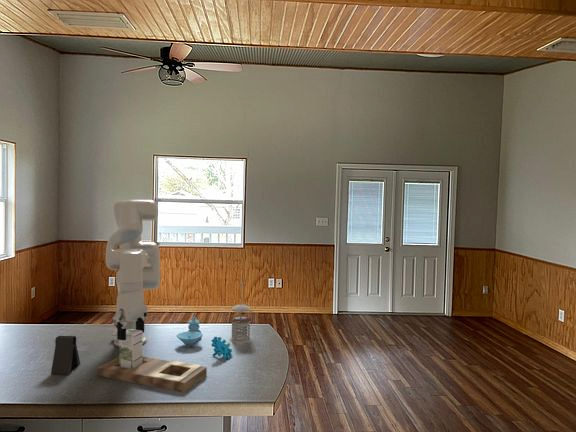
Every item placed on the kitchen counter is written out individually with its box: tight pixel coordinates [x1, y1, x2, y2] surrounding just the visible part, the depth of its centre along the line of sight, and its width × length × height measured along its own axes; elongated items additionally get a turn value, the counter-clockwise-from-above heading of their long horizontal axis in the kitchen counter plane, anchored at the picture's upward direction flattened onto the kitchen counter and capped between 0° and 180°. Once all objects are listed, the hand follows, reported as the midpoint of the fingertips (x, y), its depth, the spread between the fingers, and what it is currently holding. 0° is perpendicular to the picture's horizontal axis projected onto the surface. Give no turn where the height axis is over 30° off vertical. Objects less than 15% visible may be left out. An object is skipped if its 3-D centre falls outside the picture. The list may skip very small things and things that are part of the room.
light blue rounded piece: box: [176, 316, 204, 348], centre depth 190 cm, size 18×10×9 cm, turn 1°
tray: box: [97, 356, 208, 393], centre depth 155 cm, size 34×14×3 cm, turn 71°
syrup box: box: [118, 329, 143, 369], centre depth 158 cm, size 6×6×14 cm
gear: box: [211, 336, 233, 360], centre depth 174 cm, size 11×6×10 cm
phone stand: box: [50, 335, 81, 376], centre depth 158 cm, size 9×6×12 cm, turn 179°
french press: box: [228, 282, 255, 344], centre depth 195 cm, size 10×12×25 cm
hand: (131, 335), depth 157 cm, fingers open, 9 cm apart
